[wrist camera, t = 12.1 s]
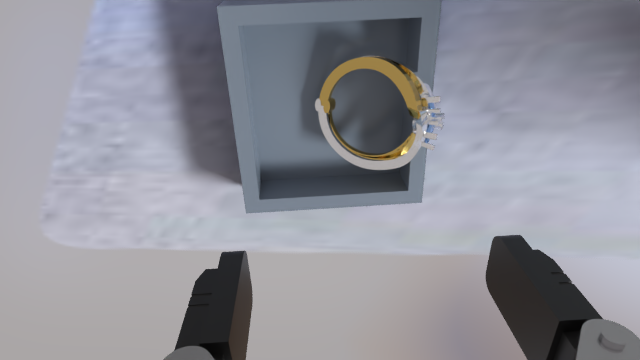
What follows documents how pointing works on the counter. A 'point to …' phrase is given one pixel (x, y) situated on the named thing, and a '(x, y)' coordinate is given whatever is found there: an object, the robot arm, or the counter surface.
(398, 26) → the dish
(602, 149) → the counter surface
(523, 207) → the counter surface
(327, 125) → the ring
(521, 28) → the counter surface
